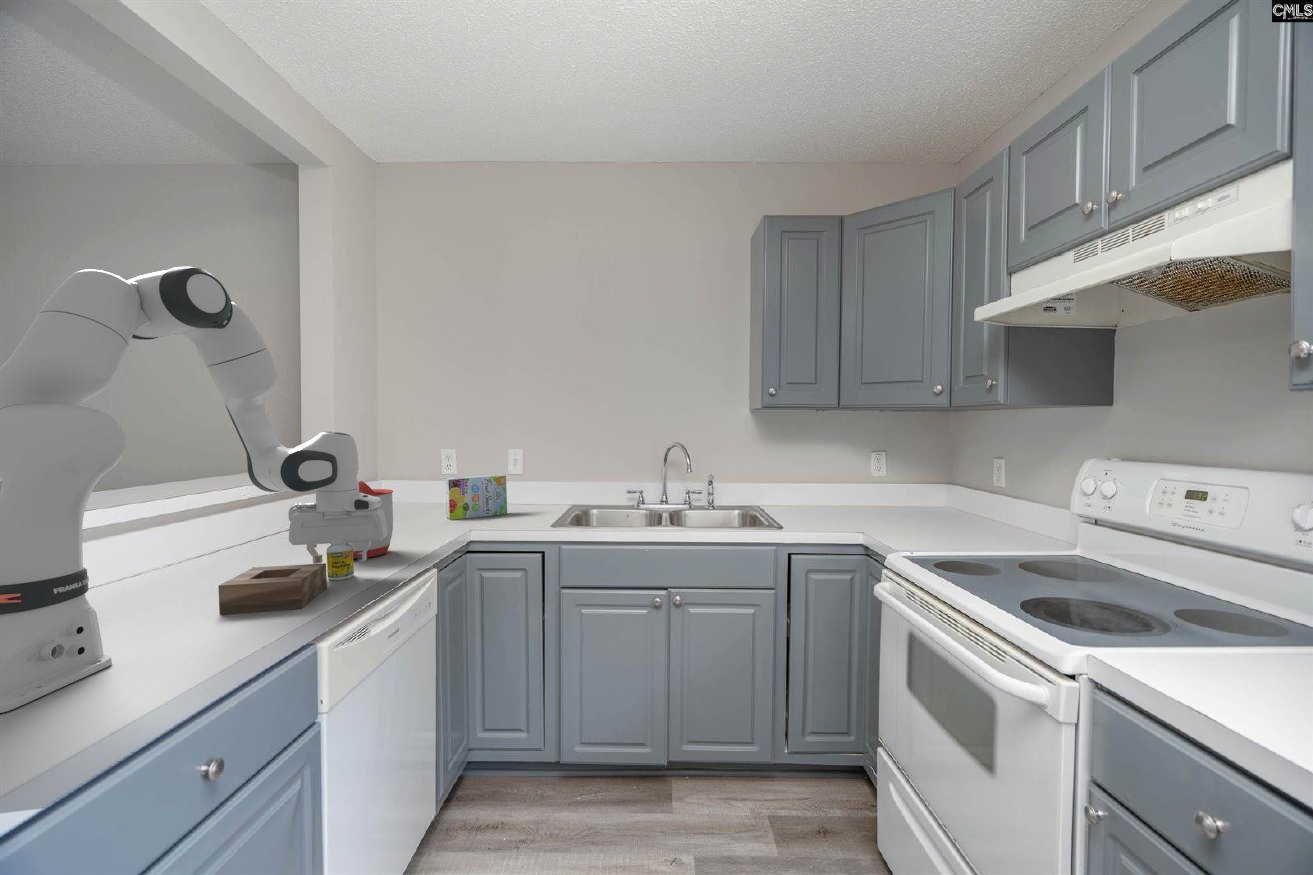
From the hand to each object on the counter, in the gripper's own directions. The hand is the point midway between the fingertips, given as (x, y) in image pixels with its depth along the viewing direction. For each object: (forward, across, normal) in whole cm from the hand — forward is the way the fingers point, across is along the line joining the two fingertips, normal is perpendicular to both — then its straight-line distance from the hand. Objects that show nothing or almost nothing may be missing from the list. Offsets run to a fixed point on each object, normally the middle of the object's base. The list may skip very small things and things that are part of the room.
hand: (340, 561), depth 136 cm
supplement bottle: (+4, 0, 0) cm, 4 cm away
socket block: (+4, -7, -16) cm, 18 cm away
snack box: (+4, +22, +82) cm, 85 cm away
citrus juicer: (+4, -2, +23) cm, 23 cm away
